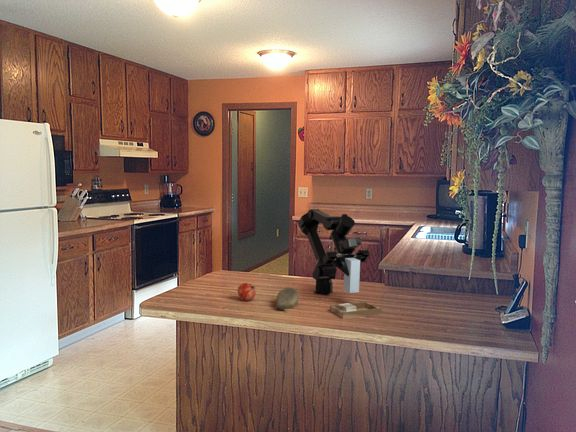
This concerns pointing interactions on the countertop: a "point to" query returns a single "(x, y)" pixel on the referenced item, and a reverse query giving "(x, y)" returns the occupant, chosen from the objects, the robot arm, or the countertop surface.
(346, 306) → the offcut upper
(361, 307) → the wooden tray
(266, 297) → the countertop surface
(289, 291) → the stone
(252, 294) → the pomegranate
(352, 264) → the pale blue rectangular block
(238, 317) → the countertop surface
